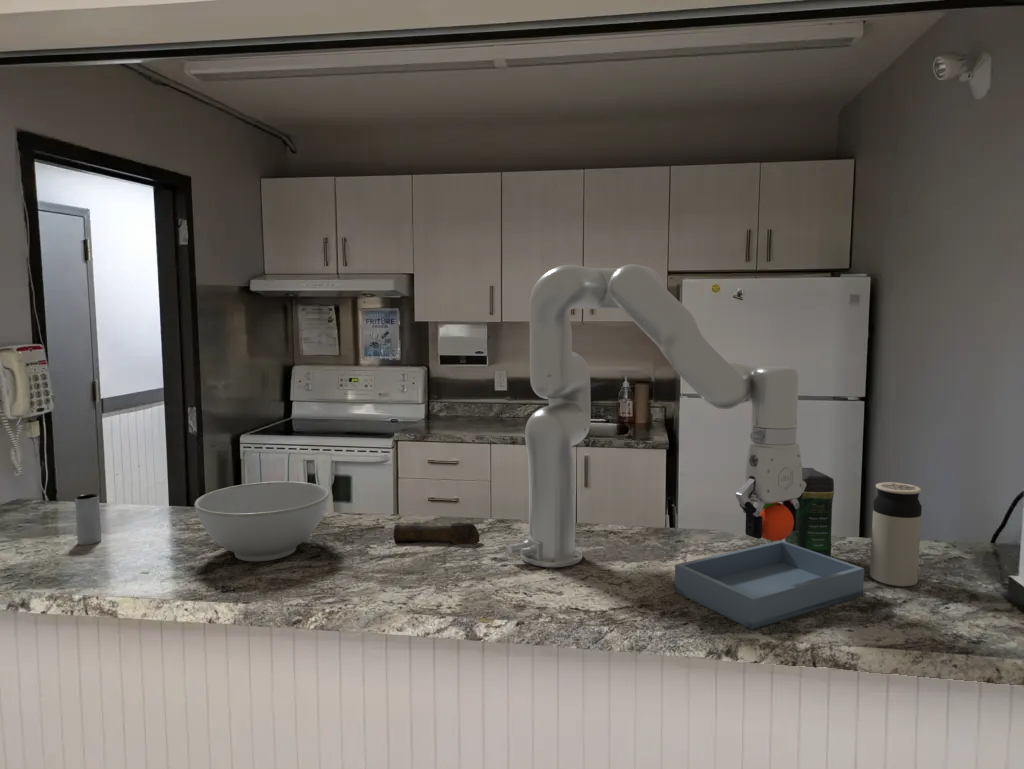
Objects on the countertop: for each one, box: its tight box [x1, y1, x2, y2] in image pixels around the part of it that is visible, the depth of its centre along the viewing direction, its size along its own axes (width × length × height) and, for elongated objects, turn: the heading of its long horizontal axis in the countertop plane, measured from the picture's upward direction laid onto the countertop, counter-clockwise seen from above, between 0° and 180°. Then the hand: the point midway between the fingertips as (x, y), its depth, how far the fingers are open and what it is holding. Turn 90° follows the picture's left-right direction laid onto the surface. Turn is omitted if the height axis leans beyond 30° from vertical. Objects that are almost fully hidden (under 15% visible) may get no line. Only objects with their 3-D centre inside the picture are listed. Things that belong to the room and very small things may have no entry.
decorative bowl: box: [193, 480, 330, 562], centre depth 149 cm, size 27×27×12 cm
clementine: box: [759, 502, 794, 542], centre depth 126 cm, size 8×7×7 cm
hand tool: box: [393, 521, 480, 545], centre depth 156 cm, size 19×4×5 cm, turn 83°
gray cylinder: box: [74, 493, 102, 546], centre depth 156 cm, size 4×4×10 cm
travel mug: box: [869, 481, 922, 588], centre depth 133 cm, size 8×8×18 cm
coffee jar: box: [784, 467, 835, 557], centre depth 145 cm, size 10×8×19 cm
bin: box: [674, 540, 865, 630], centre depth 127 cm, size 28×18×5 cm, turn 119°
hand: (770, 532), depth 126 cm, fingers closed on clementine, 8 cm apart
